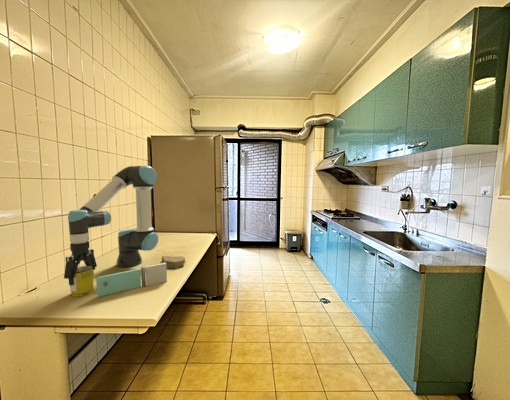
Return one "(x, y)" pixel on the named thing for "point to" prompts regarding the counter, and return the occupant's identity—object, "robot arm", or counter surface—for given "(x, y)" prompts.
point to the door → (118, 282)
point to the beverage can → (83, 281)
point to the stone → (173, 261)
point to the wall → (154, 274)
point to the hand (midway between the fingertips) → (82, 286)
